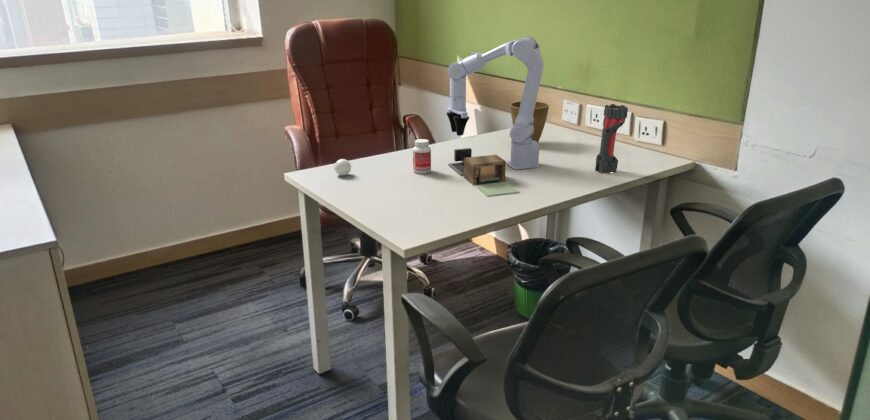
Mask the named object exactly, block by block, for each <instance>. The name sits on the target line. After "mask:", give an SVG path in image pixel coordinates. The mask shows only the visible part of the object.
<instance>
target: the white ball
mask: <svg viewBox="0 0 870 420" xmlns="http://www.w3.org/2000/svg"><path fill="white" fill-rule="evenodd" d="M334 171H335V172H336V174H338V175H339V176H343V177H344V176H347V175H349V174H350V173H351V171H352V165H351V162H350V161H349V160H347V159H345V158H340V159H337V161H336V162H335V163H334Z"/></svg>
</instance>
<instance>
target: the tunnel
mask: <svg viewBox="0 0 870 420" xmlns="http://www.w3.org/2000/svg"><path fill="white" fill-rule="evenodd" d="M506 162H507V161H506V160H505V159H503V158H502V157H500V156H499V155H498V154H489V155H478V156H471V157H467V158H464V176H463V178H464V179H465V180H466V181H467V182H468V183H469V184H471V185H472V186H475V185H477V179H476V176H477V167H483V166H492V165H495V174H496V175H498V176H499V177H500V180H499V181H500V182H506V166H507V164H506Z"/></svg>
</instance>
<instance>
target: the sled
mask: <svg viewBox="0 0 870 420" xmlns="http://www.w3.org/2000/svg"><path fill="white" fill-rule="evenodd" d="M453 150H454V152H453V153H454V154H453V155H454V157H453V161H454V162H463V163H464V158H467V157H473V156H472V151H473V150H472V148H470V147H468V148H467V147H466V148H457V149H455V148H454V149H453ZM476 181H478V182H479V183H481V182H482V183H484V182H492V181H493V182H494V181H500V177H499V176H498V175H496V174H495V165H492V166H483V167H477V176H476Z"/></svg>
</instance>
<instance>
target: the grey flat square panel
mask: <svg viewBox="0 0 870 420" xmlns="http://www.w3.org/2000/svg"><path fill="white" fill-rule="evenodd" d="M447 166H448V167H449V168H451V169H452V170H453V171H454V172H455V173H456V174H458V175H460V177H464V163H463V162H462V161H459V162H453V163H448V165H447Z"/></svg>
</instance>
